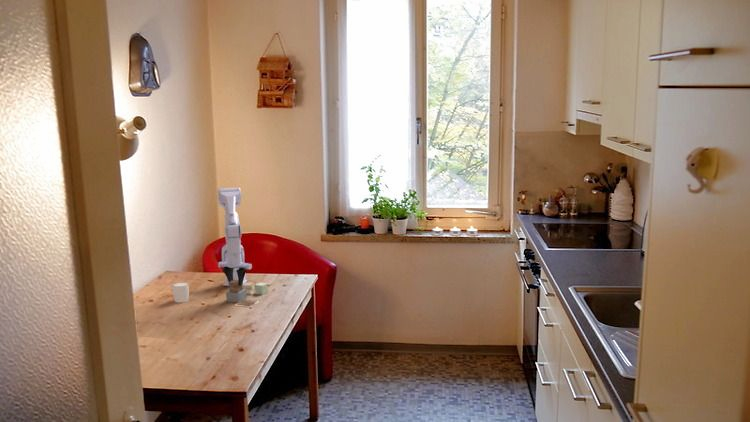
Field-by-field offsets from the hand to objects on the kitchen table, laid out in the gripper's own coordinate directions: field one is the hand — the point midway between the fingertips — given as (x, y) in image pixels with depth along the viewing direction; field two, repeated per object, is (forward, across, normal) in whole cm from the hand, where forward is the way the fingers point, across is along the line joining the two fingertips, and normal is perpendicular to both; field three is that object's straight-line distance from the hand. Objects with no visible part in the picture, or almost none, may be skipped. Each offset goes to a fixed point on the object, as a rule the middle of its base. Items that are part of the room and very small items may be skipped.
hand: (235, 284), depth 278 cm
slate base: (+7, 0, 0) cm, 7 cm away
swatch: (+6, +7, -4) cm, 10 cm away
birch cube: (+6, 0, +10) cm, 12 cm away
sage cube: (+6, +6, +11) cm, 14 cm away
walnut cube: (+2, 0, 0) cm, 3 cm away
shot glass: (+7, -22, -7) cm, 24 cm away
